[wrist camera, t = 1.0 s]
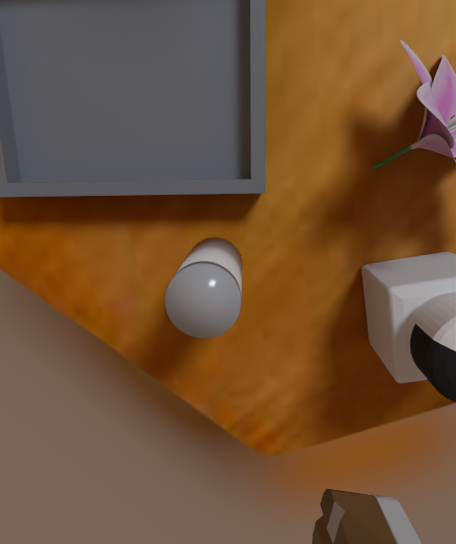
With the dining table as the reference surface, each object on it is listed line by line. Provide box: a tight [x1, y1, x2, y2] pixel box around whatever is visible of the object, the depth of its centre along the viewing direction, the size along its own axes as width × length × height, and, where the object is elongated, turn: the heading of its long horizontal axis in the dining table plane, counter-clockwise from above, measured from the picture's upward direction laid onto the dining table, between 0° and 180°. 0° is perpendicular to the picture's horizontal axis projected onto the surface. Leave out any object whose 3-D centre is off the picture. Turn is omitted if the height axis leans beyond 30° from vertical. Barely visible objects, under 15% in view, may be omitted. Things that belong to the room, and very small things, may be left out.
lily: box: [374, 40, 456, 169], centre depth 29 cm, size 12×12×10 cm
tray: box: [0, 0, 266, 197], centre depth 30 cm, size 20×16×3 cm
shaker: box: [165, 238, 242, 338], centre depth 30 cm, size 5×5×10 cm
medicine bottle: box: [361, 252, 456, 402], centre depth 29 cm, size 7×7×12 cm
